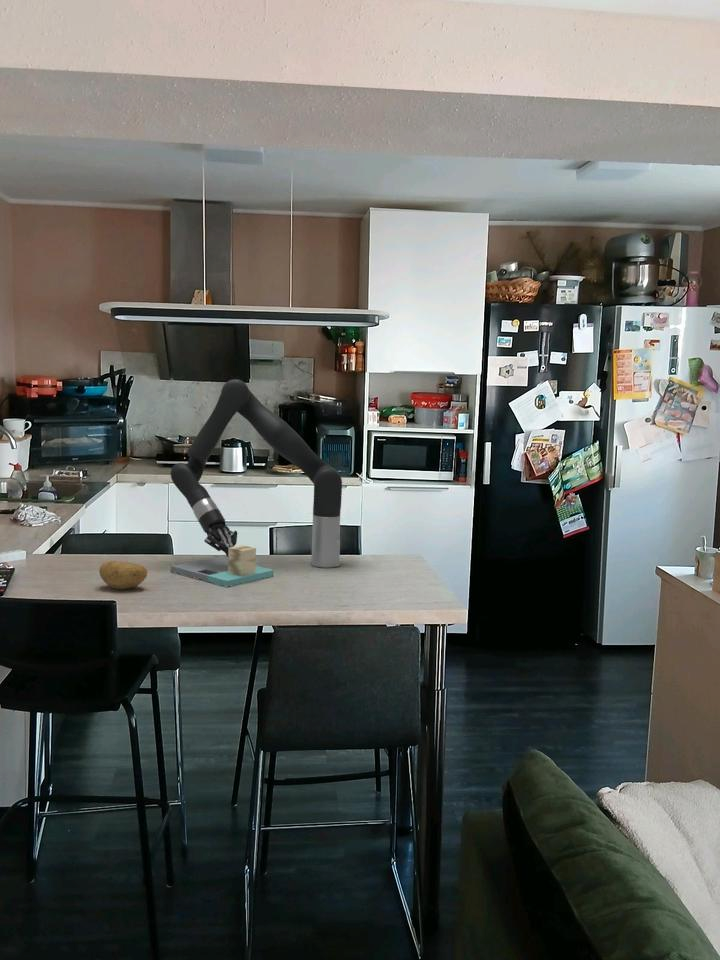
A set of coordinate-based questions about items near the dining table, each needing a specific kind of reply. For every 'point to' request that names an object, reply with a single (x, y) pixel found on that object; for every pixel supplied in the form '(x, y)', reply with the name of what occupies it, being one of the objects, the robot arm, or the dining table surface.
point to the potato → (122, 574)
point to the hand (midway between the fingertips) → (234, 559)
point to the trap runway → (218, 571)
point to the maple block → (241, 560)
